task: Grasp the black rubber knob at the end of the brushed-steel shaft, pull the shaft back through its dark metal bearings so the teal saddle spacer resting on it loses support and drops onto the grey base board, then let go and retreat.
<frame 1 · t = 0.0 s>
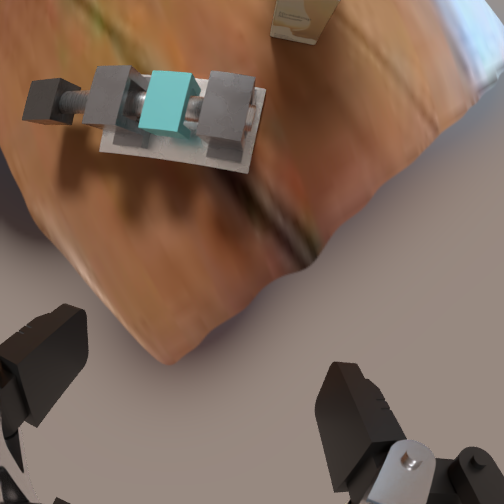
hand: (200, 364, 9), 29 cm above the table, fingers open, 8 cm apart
skincare box: (295, 30, 31), on the table
bearing stand: (178, 118, 34), on the table
shaft: (127, 103, 27), point 7 cm above the table, slide at 0.0 cm, touching spacer
spacer: (177, 111, 30), point 4 cm above the table, touching shaft
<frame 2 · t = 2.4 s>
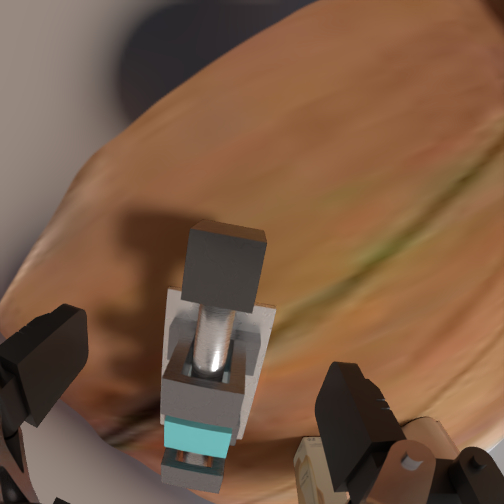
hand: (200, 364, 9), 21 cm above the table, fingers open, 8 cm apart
skincare box: (311, 448, 36), on the table
bearing stand: (209, 374, 32), on the table
shaft: (205, 382, 24), point 7 cm above the table, slide at 0.0 cm, touching spacer
spacer: (203, 404, 28), point 4 cm above the table, touching shaft
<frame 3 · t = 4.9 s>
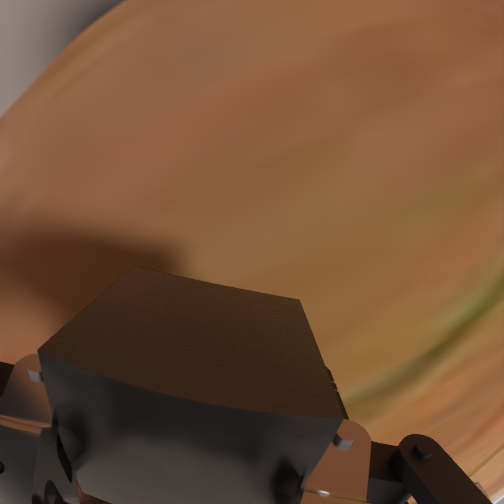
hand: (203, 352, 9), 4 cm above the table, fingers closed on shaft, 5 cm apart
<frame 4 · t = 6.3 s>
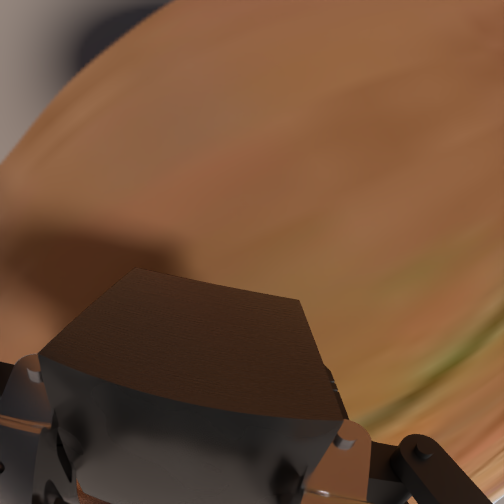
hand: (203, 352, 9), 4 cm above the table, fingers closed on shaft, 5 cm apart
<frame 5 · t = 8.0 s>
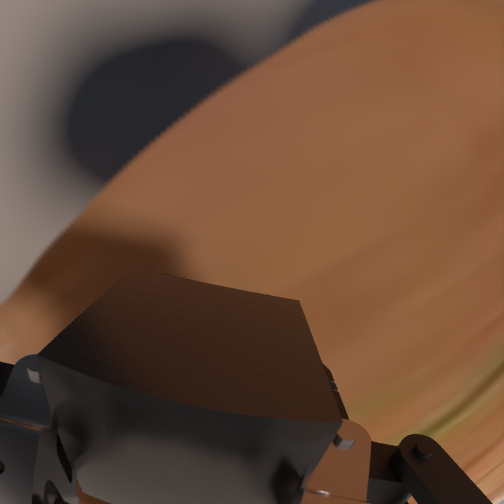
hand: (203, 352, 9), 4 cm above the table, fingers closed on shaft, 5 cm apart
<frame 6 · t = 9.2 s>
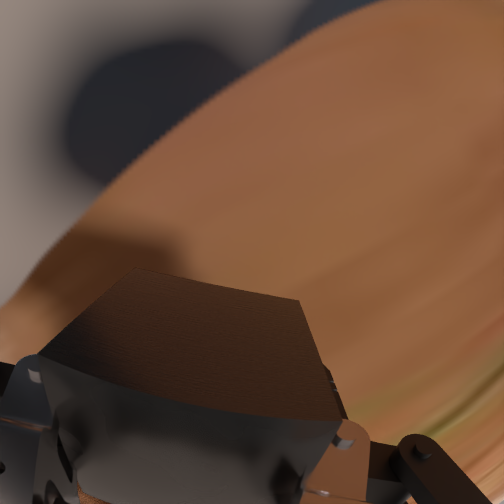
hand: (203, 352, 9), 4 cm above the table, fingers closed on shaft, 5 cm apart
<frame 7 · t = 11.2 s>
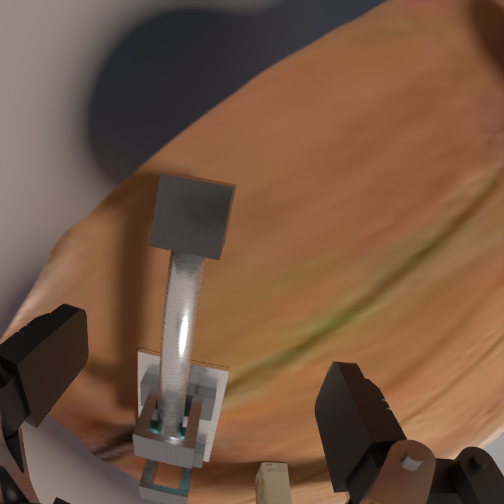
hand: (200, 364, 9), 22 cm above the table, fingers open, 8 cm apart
skincare box: (270, 470, 40), on the table
bearing stand: (177, 413, 36), on the table
shaft: (177, 341, 25), point 7 cm above the table, slide at 12.7 cm
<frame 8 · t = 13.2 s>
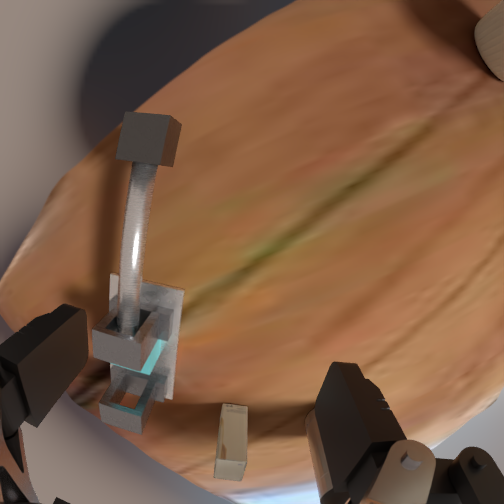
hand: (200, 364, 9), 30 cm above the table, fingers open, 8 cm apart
skincare box: (233, 415, 46), on the table
bearing stand: (143, 341, 42), on the table
shaft: (133, 242, 31), point 7 cm above the table, slide at 12.7 cm
spacer: (141, 338, 41), point 1 cm above the table, touching bearing stand
canister: (493, 54, 30), on the table
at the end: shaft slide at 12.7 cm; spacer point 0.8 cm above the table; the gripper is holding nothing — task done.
